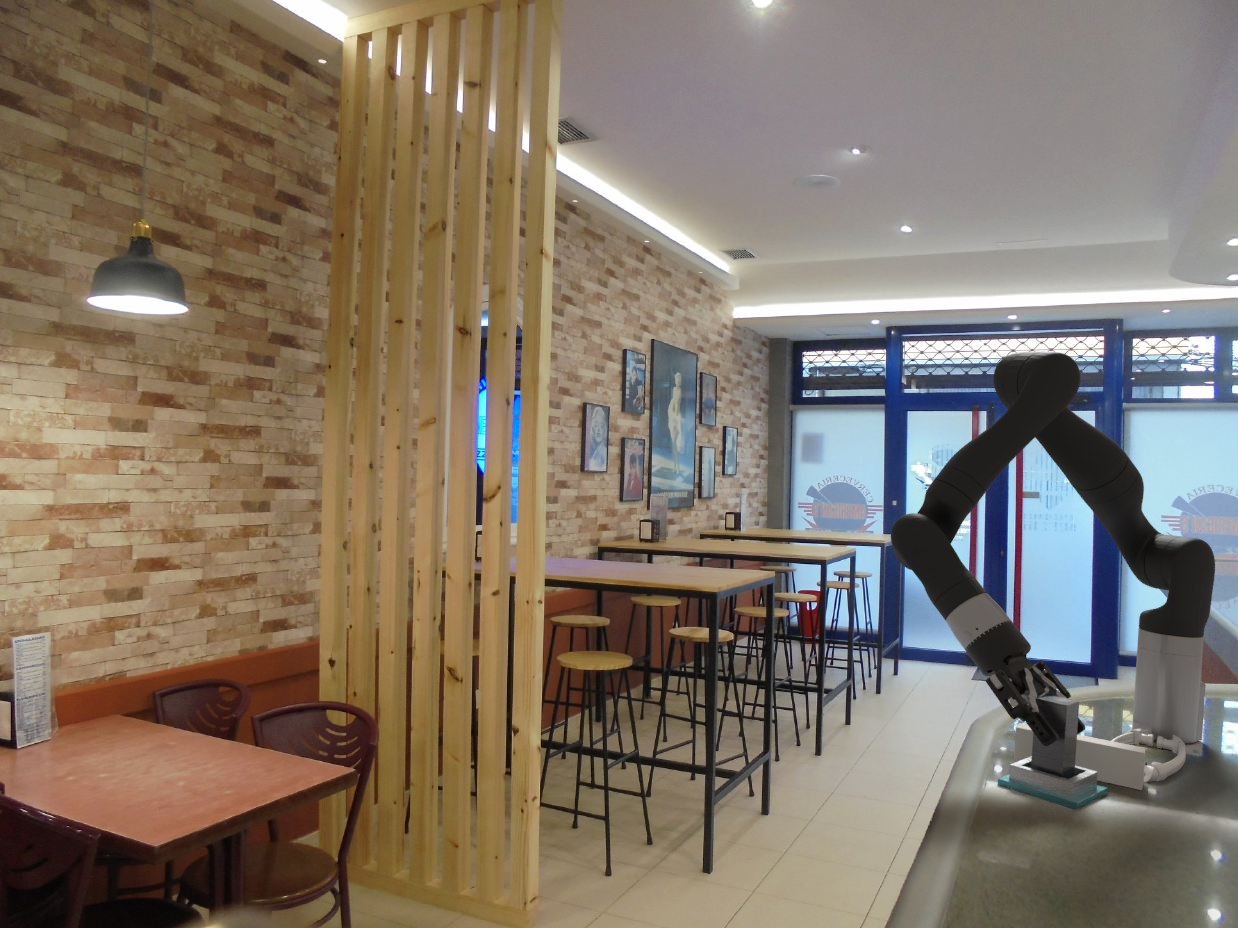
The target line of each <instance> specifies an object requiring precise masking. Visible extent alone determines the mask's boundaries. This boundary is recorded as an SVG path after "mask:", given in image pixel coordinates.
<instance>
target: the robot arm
mask: <svg viewBox="0 0 1238 928" xmlns="http://www.w3.org/2000/svg"><path fill="white" fill-rule="evenodd" d="M993 372H994V373H993V377H992V378H993V379H992V380H993V386H994V391H995V394H996V395H997V397H998V399H999V400H1000V402H1001V403H1002V405H1003V406H1004V407H1005V408H1006V409H1007V410H1006V412H1004V413H1003V415H1002V416H1000V418H998V419H997V420H996V421H995V422H994V423H993V424H991V426H989V427H987V429H985V430H984V431H983V432H981V433H980V434H978V435H977V436H976V437H974V438H973V439H972V440H970V441H968V443H966V444H965V445H963V446H962V447H960V449H958V451H957V452H955V454H953V455H952V456H951V458H950V459H949V460H948V461H947V462H946V463H945V465H944V466H943V468H941V470H940V471H939V473H938V474H937V475H936V476H935V478H934V479H933V481H932V482H931V483H930V485H928V488H927V490H926V491H925V495H924V500H923V503H922V505H921V507H920V508H919V510H918V511H917V512H916V513H913V512H912V513H907V514H903V515H901V516H900V517H899V518H898V519H897V520H896V521H895V522H894V524H893V526H892V528H891V531H890V542H891V546H892V548H893V551H894V554H895V557H896V559H897V561H898V562H899V563H900V564H901V566H903V567H904V568H906V569H908V570H910V571H912V572H913V574H914V575H915V576H916V577H917V579H918V580H919V581H920V582H921V584H922V586H923V588H924V591H925V592H926V593H925V594H927V597H928V598H929V600H930V602H931V603H932V605H933V606H934V607H935V609H936V610H937V612H939V614H940V615H941V617H942V618H943V619H944V621H946V623H947V625H948V627H949V628H950V631H951V632H952V635H954V636H953V637H955V639H956V640H957V641H958V642H959V645H961V647H962V648H963V650H964V651H965V652H966V653H967V655H968V656H969V658H970V659H971V660H972V661H973V663H974V664H975V665H976V667H977V668H978V670H979V671H980V672H981V674H982V675H984V676H985V677H987V678H986V679H985V683H986V684H987V685H988V687H989V689H990V690H991V691H992V693H993V694H994V696H995V697H996V699H997V700H998V701H999V703H1000V704H1001V705H1002V707H1003V708H1004V710H1005V712H1006V713H1007V714H1008V715H1009V716H1010V718H1011V719H1012V720H1016V719H1019V720H1020V721H1021V722H1022V723H1025V724H1027V725H1028V726H1029V727H1030V728H1031V730H1032V731H1033V732H1034V734H1035V735H1036V736H1037V738H1038V739H1039V740H1040V742H1041V743H1042V744H1043V745H1044V746H1049V745H1051V744H1052V743H1054V742H1055V741H1057V740H1058V739H1059V736H1058V734H1057V733H1056V732H1055V730H1054V729H1053V728H1052V726H1051V725H1050V724H1049V722H1048V721H1047V720H1046V718H1045V717H1044V716H1043V714H1042V713H1038V712H1039V709H1038V706H1037V704H1036V698H1038V697H1041V696H1044V695H1048V694H1049V695H1053V696H1058V697H1062V698H1066V699H1070V698H1071V697H1072V695H1071V693H1070V692H1069V691H1068V690H1067V689H1068V688H1066V687H1065V686H1064V685H1063V683H1062V682H1061V681H1060V680H1059V678H1058V677H1057V676H1056V675H1055V674H1054V673H1053V671H1052V670H1051V669H1050V668H1049V666H1048V665H1047V664H1046V663H1045V662H1044V661H1043V660H1039V661H1037V662H1036V663H1035V664H1033V663H1032V662H1031V661H1030V660H1029V659H1028V658H1027V654H1029V653H1030V651H1031V649H1032V646H1031V644H1030V642H1029V641H1028V639H1026V637H1025V636H1024V635H1023V633H1022V632H1021V631H1020V629H1019V628H1018V627H1017V626H1016V625H1015V624H1014V622H1013V621H1012V619H1011V618H1010V617H1009V615H1008V614H1007V613H1006V611H1004V609H1003V608H1002V607H1001V606H1000V605H999V604H998V602H996V601H995V600H994V598H992V597H991V596H990V594H989V593H988V592H987V591H986V589H985V588H984V587H983V586H982V585H981V583H980V582H979V581H978V579H977V578H976V577H975V576H974V574H973V573H971V571H970V570H969V569H968V568H967V567H966V565H964V563H963V562H962V560H961V559H960V557H959V555H958V553H957V552H956V550H955V548H954V547H953V545H952V543H953V541H954V539H955V537H956V536H957V533H958V532H959V530H960V528H961V526H962V524H963V522H964V521H965V519H966V518H967V516H969V514H970V513H971V512H972V511H973V510H974V508H975V507H976V506H977V504H978V503H979V501H980V500H981V499H982V497H984V495H985V494H986V492H987V491H988V489H990V487H991V485H993V483H994V482H995V481H996V479H997V478H998V477H999V476H1000V475H1001V473H1002V472H1003V471H1004V469H1005V468H1006V467H1007V466H1008V465H1009V464H1010V463H1011V462H1012V461H1013V460H1014V459H1015V458H1017V456H1018V455H1019V454H1020V453H1021V452H1022V450H1024V449H1025V448H1026V447H1027V446H1028V445H1029V444H1030V443H1031V442H1032V441H1033V440H1034V439H1036V440H1037V441H1038V442H1039V445H1041V446H1042V448H1043V449H1044V450H1045V452H1046V453H1047V454H1048V455H1049V458H1051V459H1052V461H1053V462H1054V463H1055V465H1056V466H1057V467H1058V468H1059V470H1060V471H1061V472H1062V474H1063V475H1064V476H1065V477H1066V479H1067V481H1068V482H1069V484H1070V485H1071V486H1072V487H1073V488H1074V490H1075V492H1076V493H1077V494H1078V495H1079V497H1080V498H1081V499H1082V500H1083V502H1084V503H1085V504H1086V505H1087V506H1088V508H1090V510H1091V511H1092V512H1093V514H1094V515H1095V516H1096V518H1097V519H1098V521H1099V522H1100V523H1101V525H1102V526H1103V528H1104V529H1105V530H1106V531H1107V533H1108V535H1109V536H1110V537H1111V538H1112V541H1113V542H1114V543H1115V545H1116V546H1117V549H1118V550H1119V553H1120V554H1121V556H1122V557H1123V559H1124V561H1125V562H1126V564H1127V566H1128V567H1129V570H1130V571H1131V572H1132V574H1133V575H1134V577H1136V579H1137V580H1138V581H1139V582H1140V583H1142V584H1143V585H1146V586H1147V587H1149V588H1152V589H1153V588H1154V589H1156V590H1157V589H1158V590H1163V591H1168V592H1167V598H1166V601H1165V603H1163V605H1160V607H1157V608H1156V607H1155V608H1150V609H1145V610H1143V611H1142V612H1141V613H1140V615H1139V617H1138V618H1139V620H1138V631H1137V632H1138V633H1137V649H1136V665H1135V676H1134V677H1135V679H1134V680H1135V681H1134V695H1133V708H1132V709H1133V710H1132V724H1131V725H1132V726H1131V730H1134V729H1142V730H1146V729H1148V730H1149V732H1148V733H1149V734H1153V735H1154V740H1157V738H1158V736H1161V737H1164V738H1165V739H1167V737H1169V738H1170V740H1173V739H1172V738H1173V737H1172V735H1175V736H1177V737H1179V738H1180V739H1181V740H1182V741H1183V743H1184V744H1194V743H1197V742H1198V741H1200V742H1201V741H1202V742H1203V732H1204V731H1203V729H1204V714H1205V702H1206V700H1205V699H1206V686H1207V685H1206V683H1205V682H1204V681H1202V667H1203V653H1204V652H1203V651H1204V650H1203V649H1204V638H1205V637H1204V636H1205V629H1206V625H1207V622H1208V620H1209V617H1210V615H1211V605H1212V598H1213V592H1214V583H1215V574H1216V560H1215V554H1214V552H1213V549H1212V547H1211V545H1210V544H1209V543H1208V542H1206V541H1205V540H1203V539H1201V538H1198V537H1197V538H1196V537H1190V536H1189V537H1188V536H1182V535H1181V536H1179V535H1172V534H1170V535H1169V534H1164V533H1162V532H1159V531H1158V530H1157V529H1156V528H1155V527H1154V526H1153V525H1152V524H1151V522H1150V521H1149V520H1148V518H1147V516H1146V515H1145V514H1144V512H1143V509H1142V508H1143V501H1144V494H1145V493H1144V491H1145V485H1144V479H1143V476H1142V474H1141V473H1140V471H1139V469H1138V468H1137V466H1136V465H1135V464H1134V463H1133V461H1132V460H1131V458H1130V457H1129V456H1128V454H1127V453H1126V452H1125V450H1123V448H1122V447H1121V446H1120V445H1119V444H1118V443H1117V442H1116V441H1115V440H1113V439H1112V438H1111V437H1109V436H1108V435H1107V434H1105V433H1104V432H1102V431H1101V430H1100V429H1098V428H1097V427H1095V426H1093V425H1092V424H1091V423H1090V422H1088V421H1087V420H1084V419H1083V418H1081V417H1080V416H1079V415H1077V414H1076V413H1075V412H1074V411H1072V410H1071V408H1069V407H1068V406H1069V405H1070V404H1071V402H1072V401H1073V400H1074V399H1075V397H1076V396H1077V393H1078V391H1079V389H1080V385H1081V384H1080V383H1081V372H1080V368H1079V366H1078V363H1077V362H1076V361H1075V360H1074V359H1073V358H1072V357H1071V356H1070V355H1068V354H1066V353H1063V352H1059V351H1022V352H1015V353H1011V354H1009V355H1006V356H1004V357H1003V358H1002V359H1001V360H999V362H997V365H996V367H995V369H994V371H993ZM1037 713H1038V714H1037ZM1084 731H1086V725H1085V724H1084V723H1083V721H1082V720H1081V719H1080V717H1078V729H1077V735H1080V734H1081V733H1083V732H1084Z"/></svg>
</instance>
